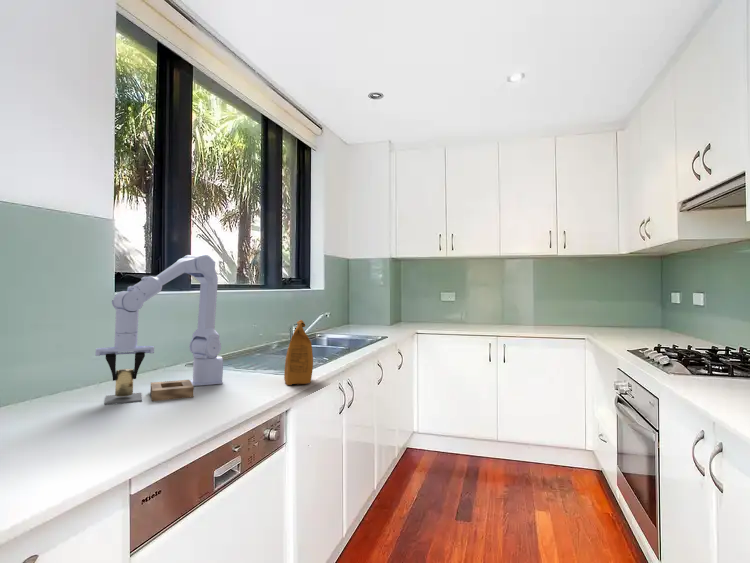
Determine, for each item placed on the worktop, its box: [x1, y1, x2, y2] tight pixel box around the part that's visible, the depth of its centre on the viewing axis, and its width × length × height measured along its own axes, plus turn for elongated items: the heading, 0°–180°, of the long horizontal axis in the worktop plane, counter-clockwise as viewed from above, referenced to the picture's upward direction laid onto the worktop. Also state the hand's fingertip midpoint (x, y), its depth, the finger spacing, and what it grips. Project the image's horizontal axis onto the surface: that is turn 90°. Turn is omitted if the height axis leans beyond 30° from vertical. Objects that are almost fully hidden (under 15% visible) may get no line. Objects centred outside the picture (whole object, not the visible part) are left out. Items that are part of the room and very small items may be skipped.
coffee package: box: [283, 319, 314, 386], centre depth 149 cm, size 10×12×22 cm
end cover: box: [114, 368, 134, 397], centre depth 121 cm, size 4×4×7 cm
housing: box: [149, 379, 195, 402], centre depth 127 cm, size 11×11×3 cm
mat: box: [104, 392, 143, 406], centre depth 121 cm, size 9×9×1 cm
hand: (124, 379), depth 121 cm, fingers closed on end cover, 4 cm apart
